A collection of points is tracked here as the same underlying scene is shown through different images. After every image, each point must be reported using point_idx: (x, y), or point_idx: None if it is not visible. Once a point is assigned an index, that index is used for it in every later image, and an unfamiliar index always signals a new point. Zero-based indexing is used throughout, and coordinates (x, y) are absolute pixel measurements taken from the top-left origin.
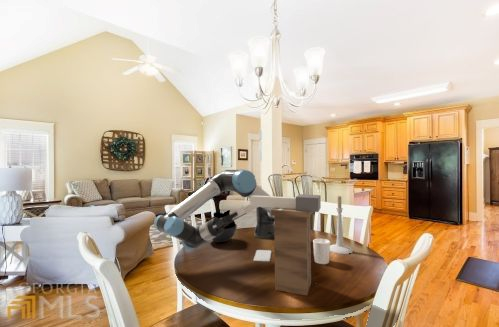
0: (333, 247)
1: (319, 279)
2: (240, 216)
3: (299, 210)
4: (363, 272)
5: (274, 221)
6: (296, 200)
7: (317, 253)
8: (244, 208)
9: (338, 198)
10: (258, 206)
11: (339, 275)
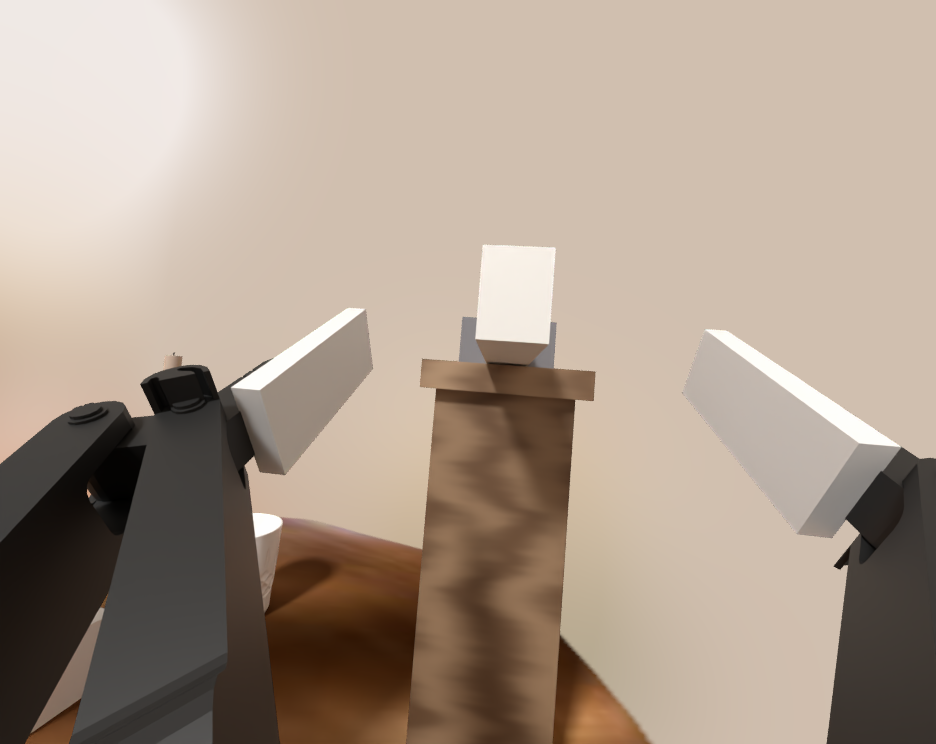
0: None
1: (401, 632)
2: (97, 603)
3: None
4: (352, 548)
5: (572, 434)
6: (555, 336)
7: None
8: (277, 391)
9: (175, 362)
10: (538, 352)
11: (369, 587)
